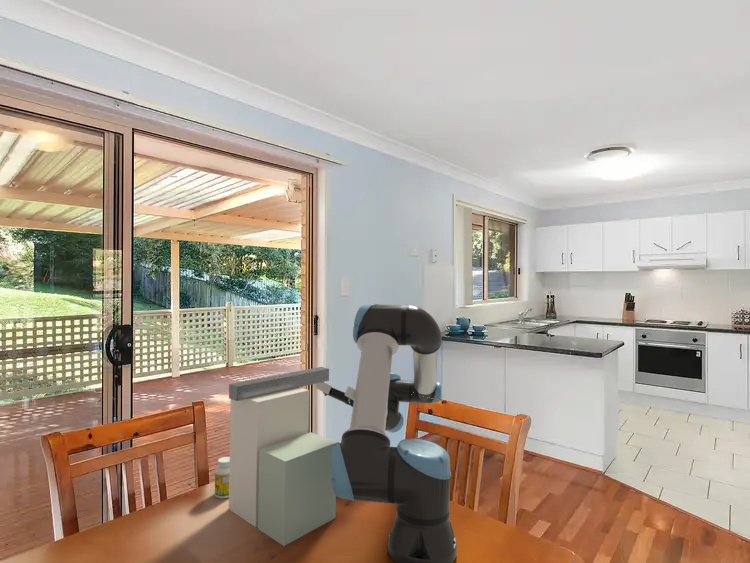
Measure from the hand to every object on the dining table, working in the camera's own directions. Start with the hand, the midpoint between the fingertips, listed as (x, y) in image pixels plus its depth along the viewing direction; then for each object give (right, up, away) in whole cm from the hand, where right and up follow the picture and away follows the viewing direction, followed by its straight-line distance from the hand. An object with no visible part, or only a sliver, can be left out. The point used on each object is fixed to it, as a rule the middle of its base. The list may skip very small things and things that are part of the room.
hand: (330, 386), depth 132 cm
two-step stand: (-11, -27, -20) cm, 35 cm away
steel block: (-11, +3, -13) cm, 18 cm away
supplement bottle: (-28, -27, -11) cm, 40 cm away
